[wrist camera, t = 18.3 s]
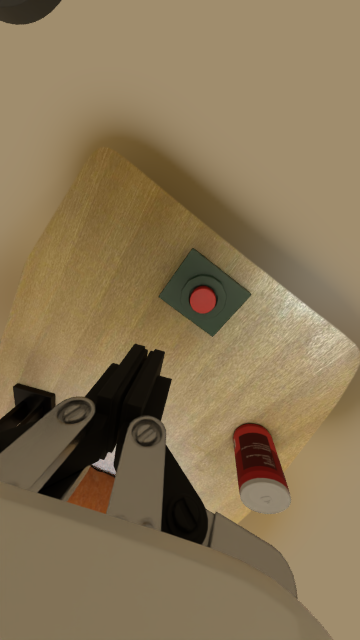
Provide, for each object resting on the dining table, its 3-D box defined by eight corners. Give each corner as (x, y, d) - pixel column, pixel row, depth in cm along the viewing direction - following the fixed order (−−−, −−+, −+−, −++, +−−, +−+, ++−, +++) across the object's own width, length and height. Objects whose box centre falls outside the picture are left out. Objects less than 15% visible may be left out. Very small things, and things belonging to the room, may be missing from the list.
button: (186, 300, 30) (184, 303, 28) (201, 280, 29) (200, 283, 27) (205, 314, 30) (204, 318, 29) (220, 296, 29) (221, 299, 27)
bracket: (17, 383, 45) (-58, 438, 33) (55, 393, 45) (-6, 453, 32) (21, 418, 50) (-44, 479, 37) (55, 428, 49) (2, 493, 36)
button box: (160, 294, 33) (155, 299, 30) (193, 247, 30) (191, 248, 27) (212, 332, 35) (212, 341, 31) (249, 292, 31) (254, 297, 28)
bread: (130, 512, 58) (104, 601, 44) (45, 475, 57) (-10, 553, 43) (147, 487, 53) (124, 578, 38) (53, 446, 52) (-6, 524, 38)
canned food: (250, 455, 44) (262, 520, 34) (224, 434, 43) (229, 494, 32) (279, 439, 41) (303, 504, 31) (253, 416, 40) (268, 475, 30)
